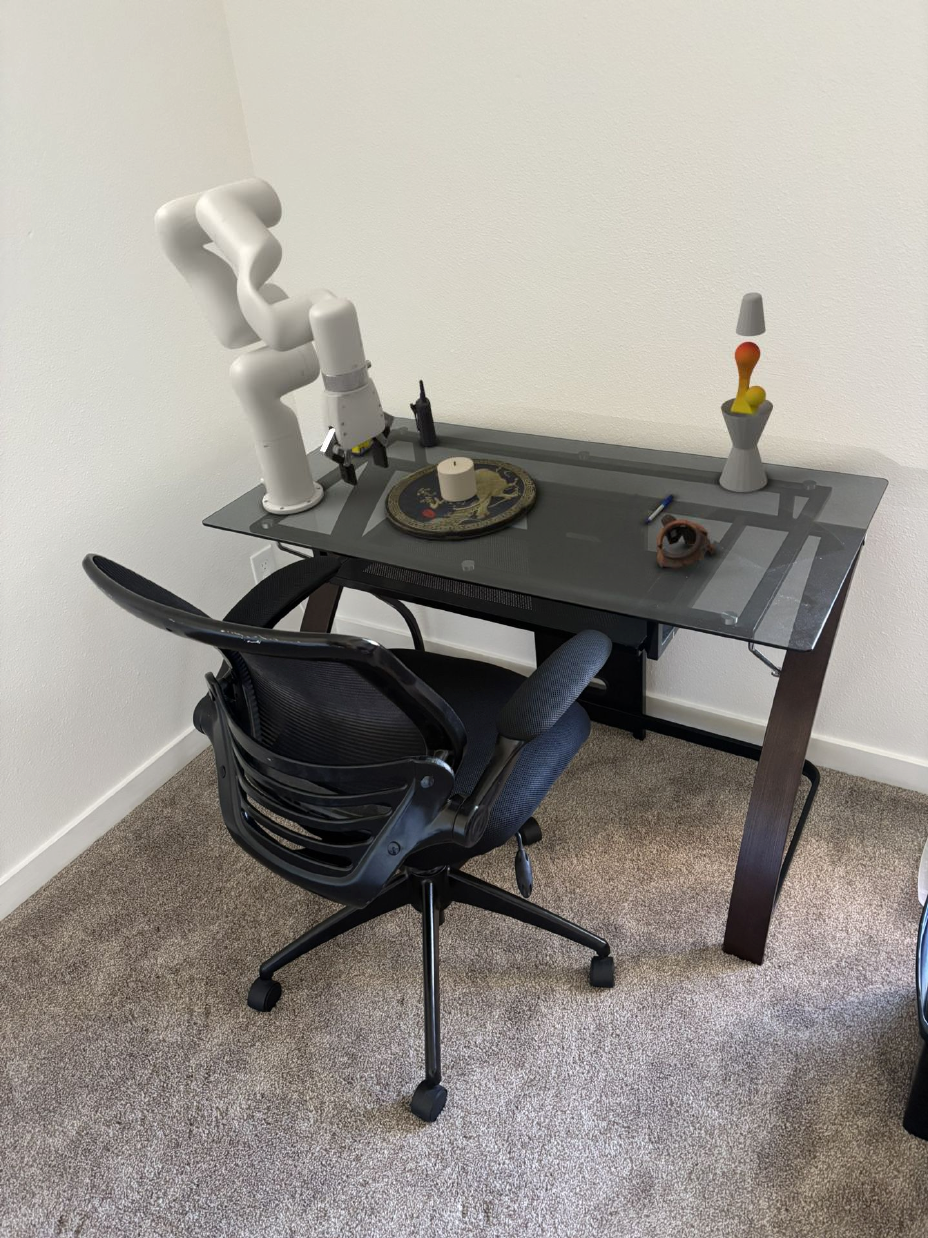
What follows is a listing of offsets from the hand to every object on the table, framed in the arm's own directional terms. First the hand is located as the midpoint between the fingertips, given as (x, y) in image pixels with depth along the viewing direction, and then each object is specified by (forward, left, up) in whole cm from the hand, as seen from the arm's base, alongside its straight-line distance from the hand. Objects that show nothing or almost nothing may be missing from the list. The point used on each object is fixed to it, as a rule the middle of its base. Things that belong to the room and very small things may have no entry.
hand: (366, 473), depth 165 cm
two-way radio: (-25, +36, -16) cm, 47 cm away
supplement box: (-37, +26, -16) cm, 48 cm away
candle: (0, +21, -14) cm, 25 cm away
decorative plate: (0, +21, -16) cm, 26 cm away
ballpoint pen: (+35, +38, -16) cm, 54 cm away
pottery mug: (+47, +27, -16) cm, 56 cm away
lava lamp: (+42, +55, -16) cm, 71 cm away
